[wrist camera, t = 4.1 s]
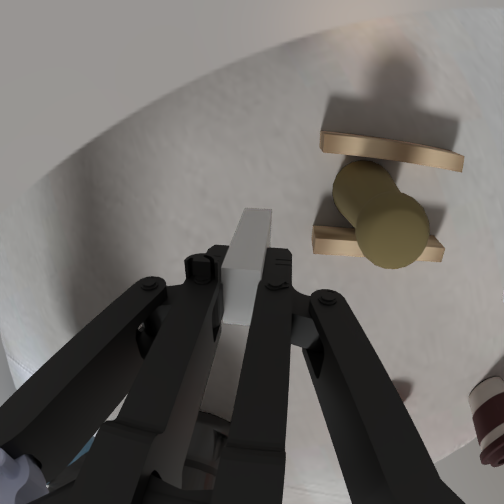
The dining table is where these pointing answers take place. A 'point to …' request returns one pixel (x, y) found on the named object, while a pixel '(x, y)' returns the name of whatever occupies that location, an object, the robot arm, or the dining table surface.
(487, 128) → the dining table surface
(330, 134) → the pair of wooden strips
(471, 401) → the coffee cup
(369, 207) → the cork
